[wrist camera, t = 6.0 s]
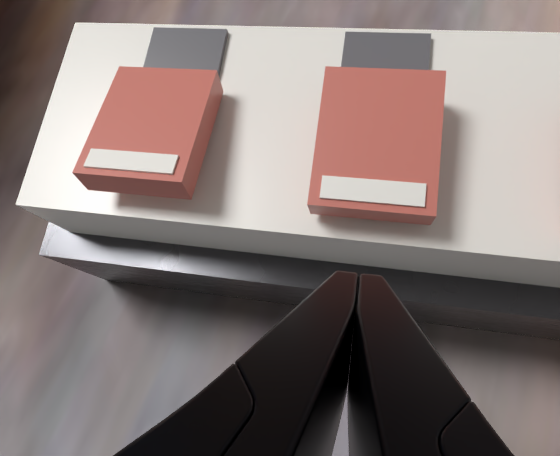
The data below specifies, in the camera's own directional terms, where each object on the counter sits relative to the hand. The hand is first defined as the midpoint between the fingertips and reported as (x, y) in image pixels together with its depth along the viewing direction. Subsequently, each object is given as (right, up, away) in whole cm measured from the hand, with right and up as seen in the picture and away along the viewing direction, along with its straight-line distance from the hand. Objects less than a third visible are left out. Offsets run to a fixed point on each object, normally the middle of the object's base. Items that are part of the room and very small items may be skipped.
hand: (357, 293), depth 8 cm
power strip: (+2, +3, +8) cm, 9 cm away
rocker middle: (+1, +3, +4) cm, 5 cm away
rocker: (-5, +4, +5) cm, 8 cm away
